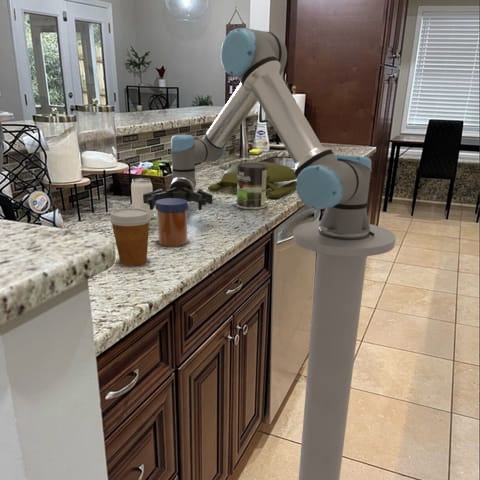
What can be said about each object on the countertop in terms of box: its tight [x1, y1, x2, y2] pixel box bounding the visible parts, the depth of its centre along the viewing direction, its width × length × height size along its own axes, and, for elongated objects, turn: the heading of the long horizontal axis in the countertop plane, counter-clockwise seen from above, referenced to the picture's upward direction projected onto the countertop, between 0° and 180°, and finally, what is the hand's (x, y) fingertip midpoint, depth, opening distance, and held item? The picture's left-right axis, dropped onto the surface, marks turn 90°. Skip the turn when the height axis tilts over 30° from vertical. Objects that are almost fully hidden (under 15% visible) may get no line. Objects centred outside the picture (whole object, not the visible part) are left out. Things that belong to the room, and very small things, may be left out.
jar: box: [156, 210, 188, 247], centre depth 134 cm, size 8×8×11 cm
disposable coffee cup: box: [108, 207, 152, 267], centre depth 118 cm, size 10×10×12 cm
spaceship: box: [207, 161, 297, 199], centre depth 205 cm, size 35×31×10 cm
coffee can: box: [236, 162, 267, 210], centre depth 174 cm, size 10×10×14 cm
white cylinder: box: [130, 177, 155, 220], centre depth 157 cm, size 6×6×12 cm
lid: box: [155, 198, 189, 212], centre depth 132 cm, size 8×8×2 cm
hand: (175, 205), depth 140 cm, fingers open, 13 cm apart
